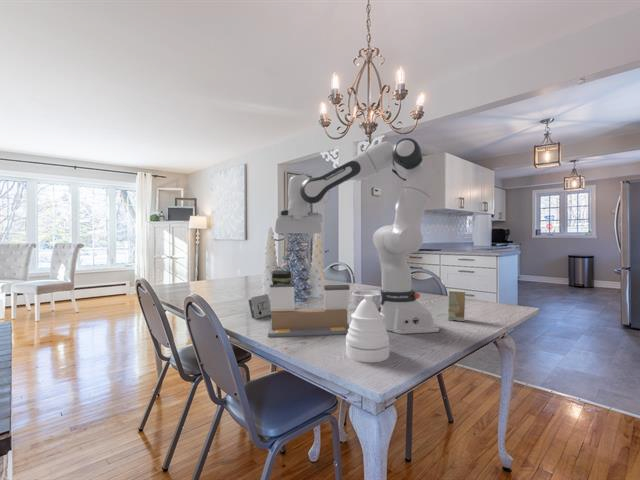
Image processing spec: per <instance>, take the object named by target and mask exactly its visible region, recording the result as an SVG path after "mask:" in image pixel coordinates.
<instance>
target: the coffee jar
mask: <svg viewBox="0 0 640 480" xmlns="http://www.w3.org/2000/svg"><path fill="white" fill-rule="evenodd" d="M292 280H293V276H292V272H291V270H287V269H282V270H281V269H278V270H277V269H276V270H275V269H274V270H273V271H272V272H271V281H272V285H275V284H292Z"/></svg>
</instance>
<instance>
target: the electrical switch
mask: <svg viewBox="0 0 640 480" xmlns="http://www.w3.org/2000/svg"><path fill="white" fill-rule="evenodd" d="M248 305H249V306H248V307H249V310H250V315H251V318H254V319H255V320H257V319H261V318H263V317H268V316H271V313H272V310H270V297H269V294H261V295H256V296H251V298H250V299H248Z"/></svg>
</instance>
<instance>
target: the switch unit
mask: <svg viewBox="0 0 640 480" xmlns="http://www.w3.org/2000/svg"><path fill="white" fill-rule="evenodd" d="M271 311H272V313H271V315H270V317H271V322H270V323H269V326H268V333H267V337H268V338H274V337H276V338H278V337H299V336H301V337H302V336H303V337H305V336H321V335H323V336H325V335H326V336H327V335H347V333H348V329H349V325H350V323H348V309H334V310H324V307H323V308H299V309H297V308H295V310H271Z"/></svg>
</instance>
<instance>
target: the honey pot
mask: <svg viewBox="0 0 640 480" xmlns="http://www.w3.org/2000/svg"><path fill="white" fill-rule="evenodd" d="M364 298H365V299H364V300H362V301H361V302H360V304H359V305H358V307H357V308H355V311H354V312H353V313H351V315H350V316H351V317H350V318H352V319H351V321H350V323H349V329H348V333H347V334H345V335H346V336H345V355H346V357H347V358H349V359H351V360H353V361H356V362H361V363H378V362H379V363H380V362H383V361H385V360H388V359H389V358H390V336H389V335H388V330H386V329H385V328H386V327H385V325H384V323H383V319H384V318H385V315H384V314H382V313H380V312H381V311H379V309H377V307H376V305H375V304H374V302H373V301H372V299H373V295H364Z"/></svg>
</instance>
